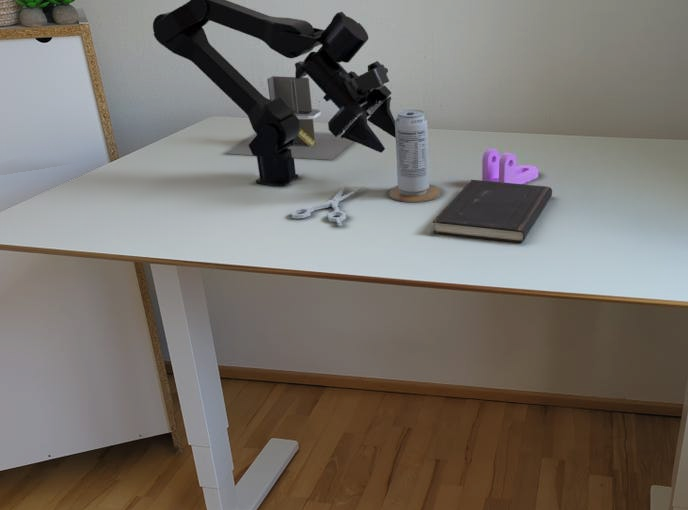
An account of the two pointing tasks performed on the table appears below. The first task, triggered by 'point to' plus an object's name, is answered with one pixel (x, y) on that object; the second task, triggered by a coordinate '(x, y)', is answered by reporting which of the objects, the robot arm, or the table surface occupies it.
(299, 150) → the architectural model
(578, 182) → the table surface
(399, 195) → the coaster
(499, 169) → the bracket
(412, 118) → the energy drink can
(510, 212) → the hardcover book
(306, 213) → the scissors
